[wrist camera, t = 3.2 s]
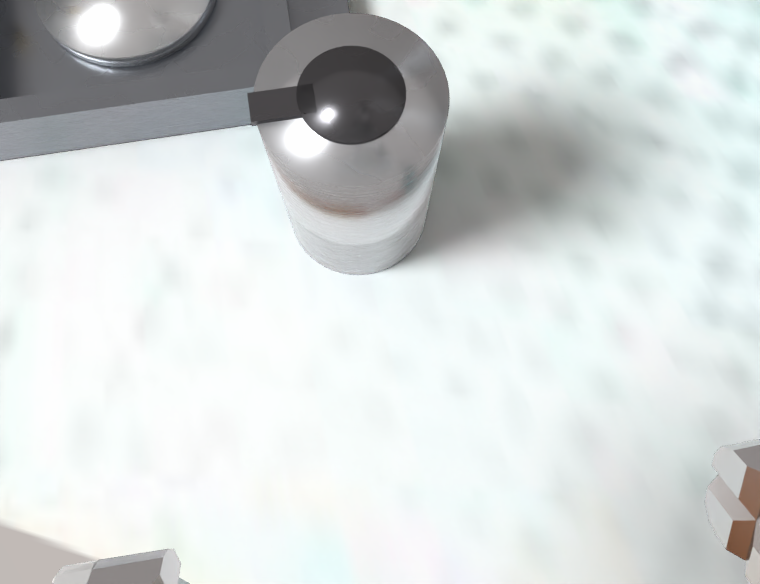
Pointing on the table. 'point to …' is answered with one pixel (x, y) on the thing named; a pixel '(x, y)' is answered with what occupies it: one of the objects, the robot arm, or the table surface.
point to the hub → (353, 136)
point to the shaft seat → (133, 67)
